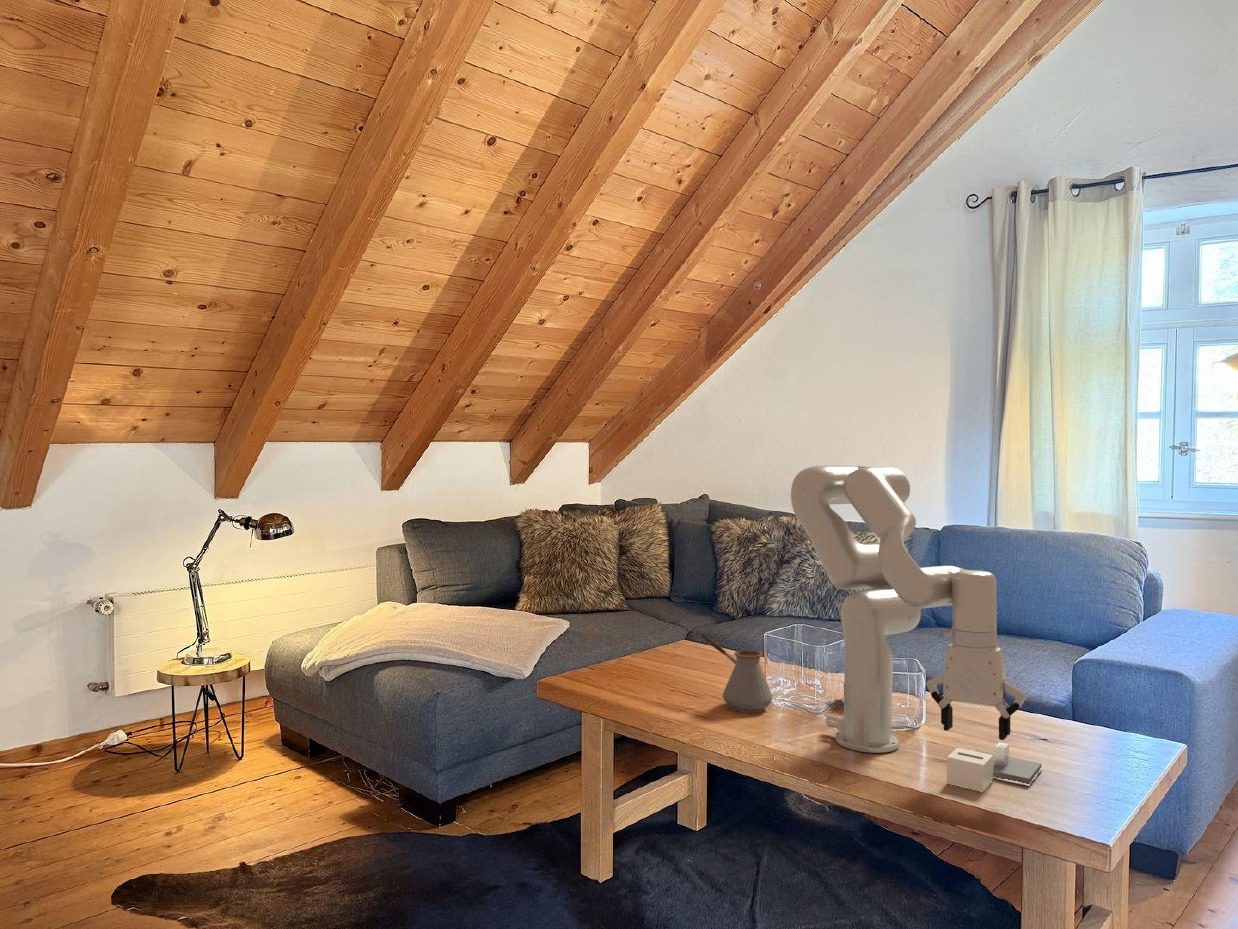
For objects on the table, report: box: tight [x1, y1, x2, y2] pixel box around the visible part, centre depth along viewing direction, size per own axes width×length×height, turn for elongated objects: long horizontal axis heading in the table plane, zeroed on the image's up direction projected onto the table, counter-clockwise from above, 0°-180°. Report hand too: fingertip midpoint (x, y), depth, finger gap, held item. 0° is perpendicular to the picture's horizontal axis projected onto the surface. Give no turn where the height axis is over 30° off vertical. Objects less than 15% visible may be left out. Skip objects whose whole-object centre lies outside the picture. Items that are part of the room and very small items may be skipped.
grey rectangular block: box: [994, 741, 1010, 767], centre depth 170 cm, size 2×3×4 cm, turn 143°
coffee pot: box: [697, 632, 773, 714], centre depth 212 cm, size 21×12×15 cm, turn 41°
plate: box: [974, 749, 1043, 784], centre depth 170 cm, size 12×10×2 cm
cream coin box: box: [945, 747, 994, 792], centre depth 164 cm, size 6×6×5 cm
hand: (975, 733), depth 163 cm, fingers open, 9 cm apart
